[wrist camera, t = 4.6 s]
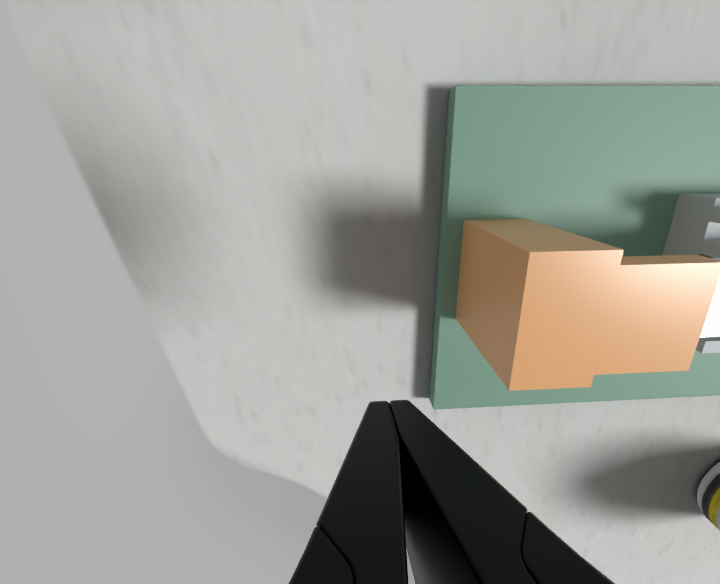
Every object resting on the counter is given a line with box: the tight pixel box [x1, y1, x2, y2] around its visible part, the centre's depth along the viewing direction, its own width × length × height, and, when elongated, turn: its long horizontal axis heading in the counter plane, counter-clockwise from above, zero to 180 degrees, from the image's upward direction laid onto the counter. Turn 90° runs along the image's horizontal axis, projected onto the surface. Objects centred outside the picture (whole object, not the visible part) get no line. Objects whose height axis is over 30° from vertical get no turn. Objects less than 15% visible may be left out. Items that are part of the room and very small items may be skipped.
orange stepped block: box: [455, 219, 720, 391], centre depth 15 cm, size 6×5×6 cm
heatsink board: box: [429, 86, 720, 409], centre depth 16 cm, size 23×16×6 cm
